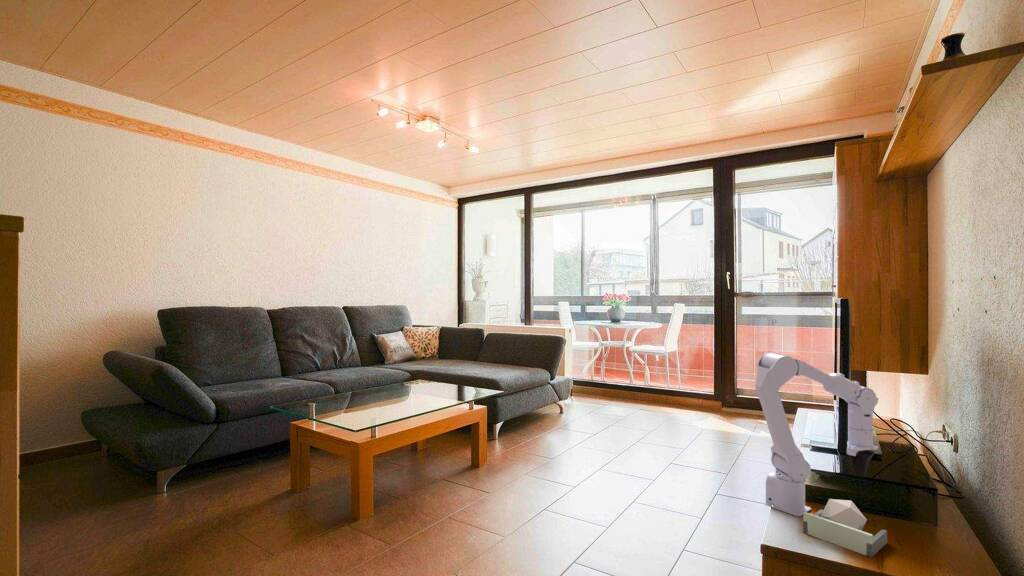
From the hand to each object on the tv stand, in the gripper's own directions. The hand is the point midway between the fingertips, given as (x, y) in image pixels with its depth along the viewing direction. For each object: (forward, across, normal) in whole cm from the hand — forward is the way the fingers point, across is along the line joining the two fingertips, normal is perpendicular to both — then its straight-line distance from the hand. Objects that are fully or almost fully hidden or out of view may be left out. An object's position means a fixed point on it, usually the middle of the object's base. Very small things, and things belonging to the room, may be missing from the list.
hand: (860, 475), depth 138 cm
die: (+10, -20, -2) cm, 23 cm away
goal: (+9, -22, -4) cm, 25 cm away
